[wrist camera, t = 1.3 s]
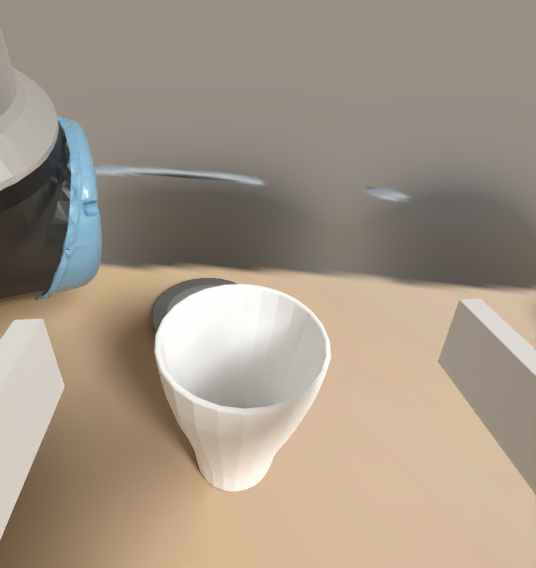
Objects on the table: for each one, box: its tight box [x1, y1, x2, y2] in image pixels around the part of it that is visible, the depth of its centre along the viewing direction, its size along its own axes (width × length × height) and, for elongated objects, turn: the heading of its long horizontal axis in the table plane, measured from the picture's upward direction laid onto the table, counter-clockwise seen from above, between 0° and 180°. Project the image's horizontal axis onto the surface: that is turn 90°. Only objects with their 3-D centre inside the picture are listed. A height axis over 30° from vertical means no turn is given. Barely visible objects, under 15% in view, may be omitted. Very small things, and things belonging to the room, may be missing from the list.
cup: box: [154, 284, 331, 492], centre depth 27 cm, size 10×10×14 cm
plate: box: [152, 278, 237, 334], centre depth 43 cm, size 12×12×1 cm
